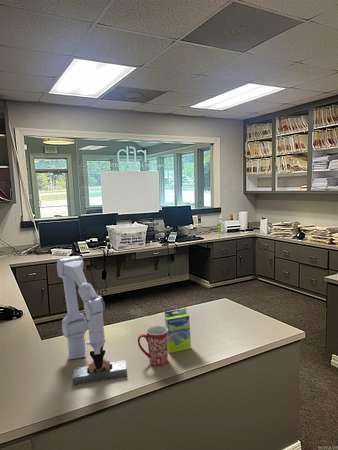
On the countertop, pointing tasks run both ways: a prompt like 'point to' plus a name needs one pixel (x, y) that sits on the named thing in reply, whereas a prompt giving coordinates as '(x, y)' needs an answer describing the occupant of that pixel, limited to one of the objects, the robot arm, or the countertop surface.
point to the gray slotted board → (99, 373)
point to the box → (178, 330)
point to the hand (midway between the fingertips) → (99, 363)
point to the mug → (156, 345)
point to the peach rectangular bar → (105, 364)
